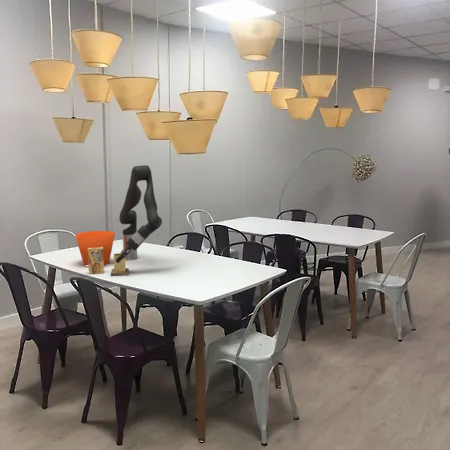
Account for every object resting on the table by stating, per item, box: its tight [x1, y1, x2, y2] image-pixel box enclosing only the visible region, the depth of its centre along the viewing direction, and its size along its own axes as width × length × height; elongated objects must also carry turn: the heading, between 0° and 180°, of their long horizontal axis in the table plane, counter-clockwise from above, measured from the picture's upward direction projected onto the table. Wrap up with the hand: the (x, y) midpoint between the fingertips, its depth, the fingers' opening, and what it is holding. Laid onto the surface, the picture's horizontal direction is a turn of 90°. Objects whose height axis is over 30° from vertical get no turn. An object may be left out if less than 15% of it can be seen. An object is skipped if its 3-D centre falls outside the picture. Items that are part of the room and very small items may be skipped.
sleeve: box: [113, 252, 127, 272], centre depth 292 cm, size 6×6×10 cm
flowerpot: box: [74, 230, 116, 266], centre depth 317 cm, size 25×25×20 cm
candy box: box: [88, 247, 105, 275], centre depth 292 cm, size 9×4×15 cm, turn 104°
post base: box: [110, 267, 130, 277], centre depth 292 cm, size 12×10×10 cm
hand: (117, 260), depth 291 cm, fingers open, 8 cm apart
